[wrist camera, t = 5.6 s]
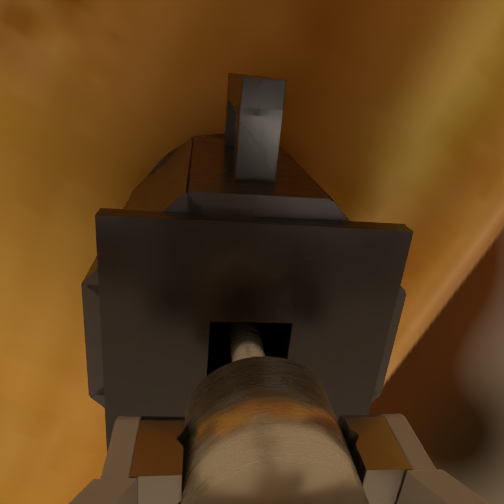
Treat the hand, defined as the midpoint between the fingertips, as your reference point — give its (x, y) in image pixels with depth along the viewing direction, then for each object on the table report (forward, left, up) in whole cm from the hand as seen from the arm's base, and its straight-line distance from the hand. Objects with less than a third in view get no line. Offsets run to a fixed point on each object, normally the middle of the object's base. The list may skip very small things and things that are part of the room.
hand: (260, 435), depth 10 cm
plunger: (0, 0, -11) cm, 11 cm away
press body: (-1, 0, -15) cm, 15 cm away
